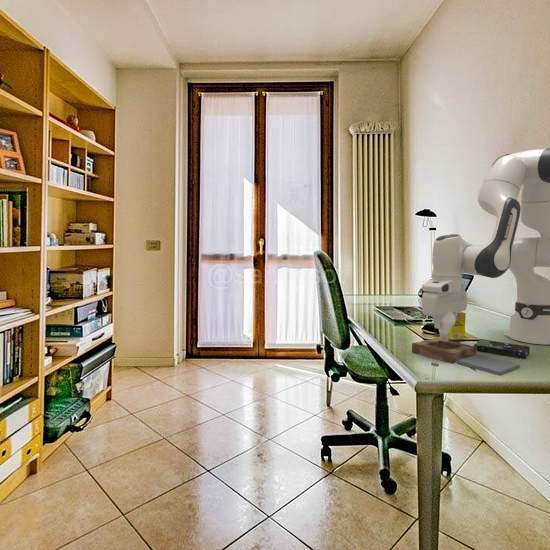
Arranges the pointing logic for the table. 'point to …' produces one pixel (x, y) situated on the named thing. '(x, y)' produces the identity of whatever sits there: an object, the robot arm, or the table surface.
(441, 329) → the lightbulb
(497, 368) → the mat
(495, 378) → the table surface
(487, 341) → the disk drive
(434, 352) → the holder
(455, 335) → the supplement box
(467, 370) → the table surface
